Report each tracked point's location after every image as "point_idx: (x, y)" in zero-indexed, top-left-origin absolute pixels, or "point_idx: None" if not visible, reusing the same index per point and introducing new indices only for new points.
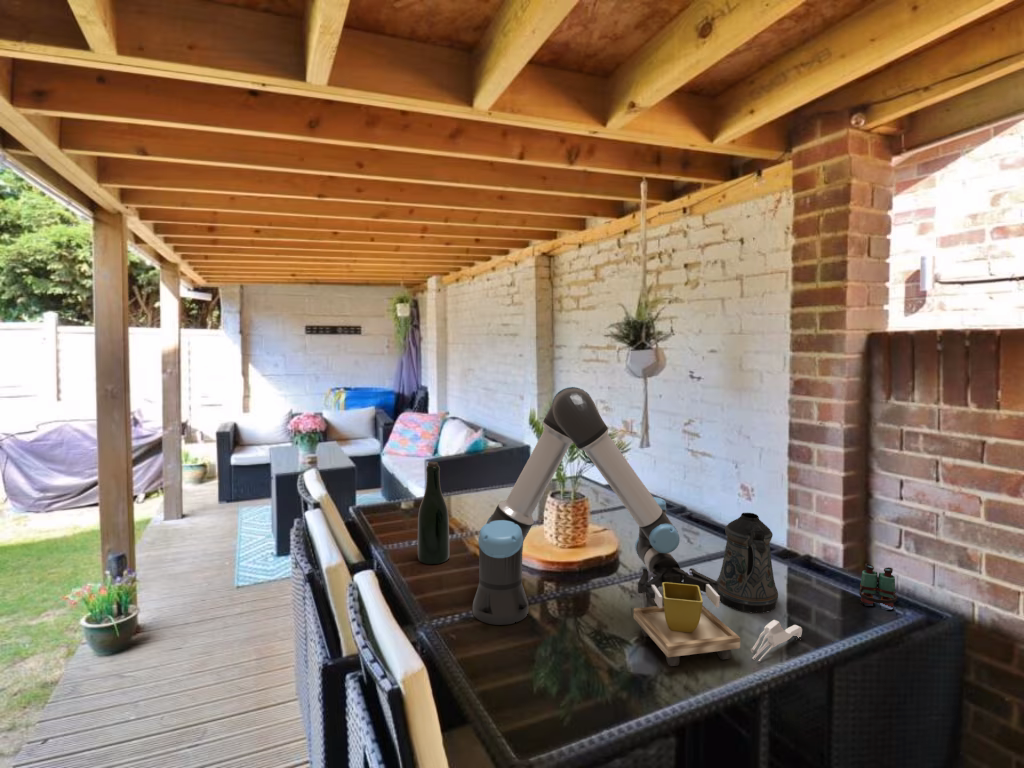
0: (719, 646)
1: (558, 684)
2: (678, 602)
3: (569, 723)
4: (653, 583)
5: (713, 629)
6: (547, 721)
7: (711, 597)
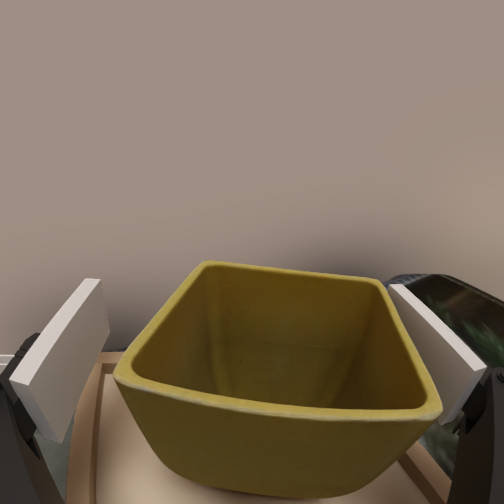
0: None
1: (472, 336)
2: (313, 285)
3: (424, 296)
4: (490, 411)
5: (126, 431)
6: (444, 297)
7: (83, 354)
